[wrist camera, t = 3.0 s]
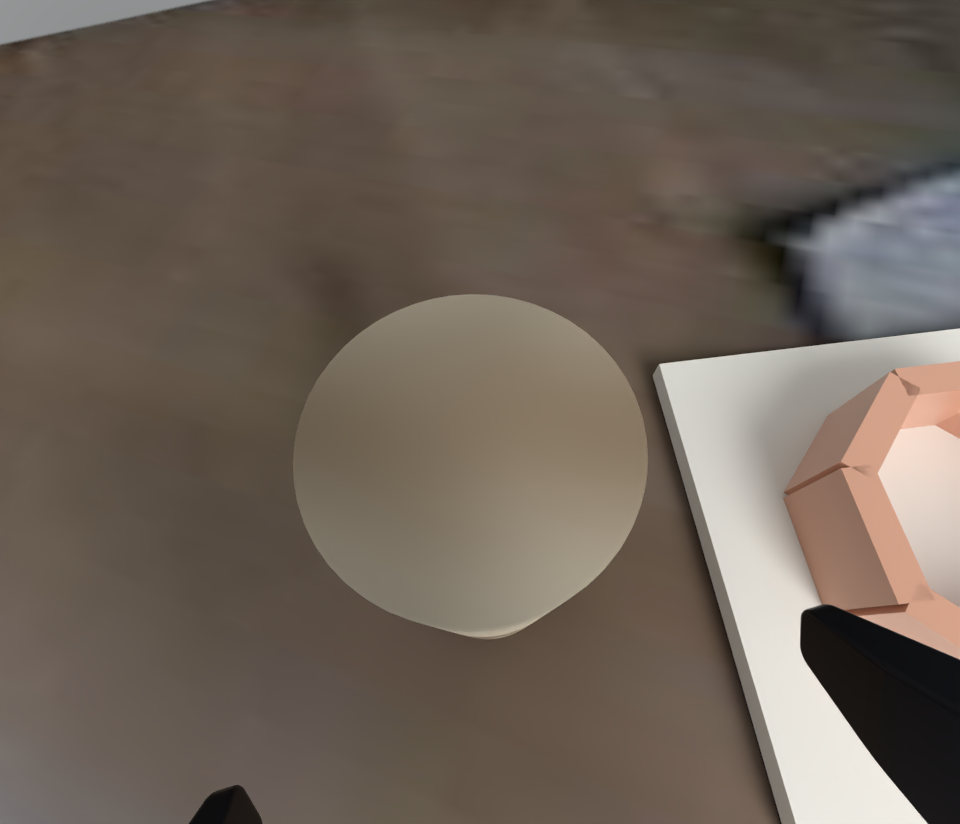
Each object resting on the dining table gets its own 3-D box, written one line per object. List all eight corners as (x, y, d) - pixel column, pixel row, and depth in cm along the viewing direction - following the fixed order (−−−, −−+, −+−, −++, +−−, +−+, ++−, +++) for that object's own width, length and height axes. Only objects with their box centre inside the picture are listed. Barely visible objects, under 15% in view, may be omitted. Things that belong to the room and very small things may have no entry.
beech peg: (566, 630, 18) (692, 602, 6) (424, 648, 18) (285, 653, 6) (542, 492, 20) (605, 278, 8) (415, 508, 20) (297, 313, 8)
